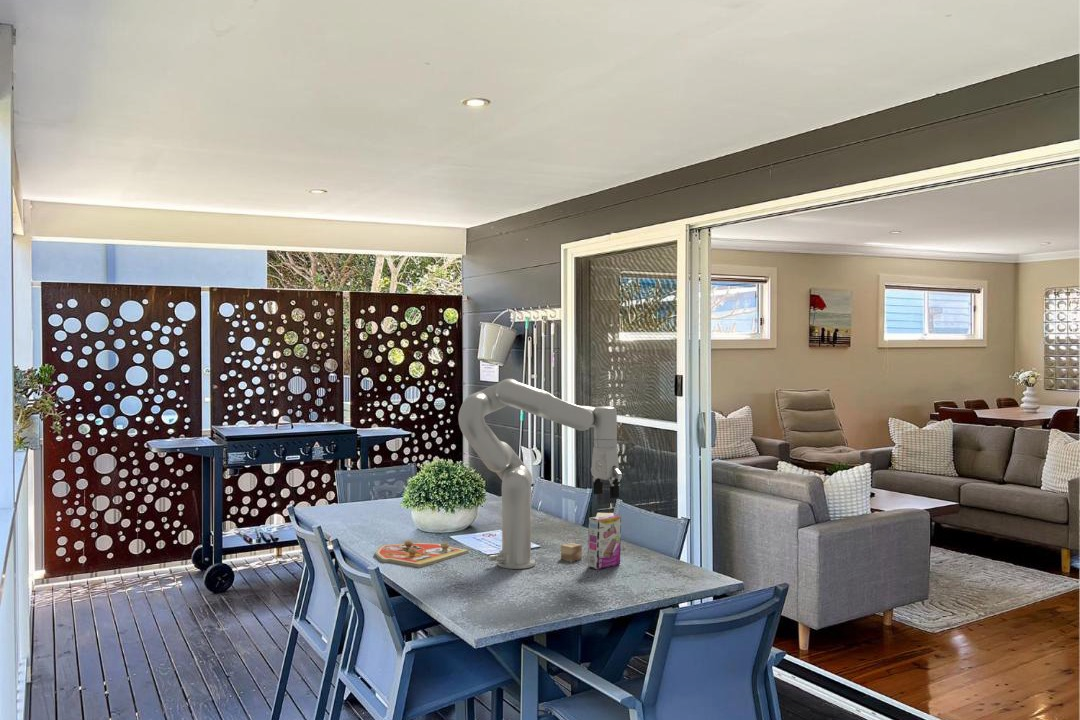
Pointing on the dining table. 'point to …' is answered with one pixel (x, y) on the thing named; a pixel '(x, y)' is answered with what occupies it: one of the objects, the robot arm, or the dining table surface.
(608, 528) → the candy bar box
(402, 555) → the knob puzzle
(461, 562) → the dining table surface
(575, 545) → the oak block
